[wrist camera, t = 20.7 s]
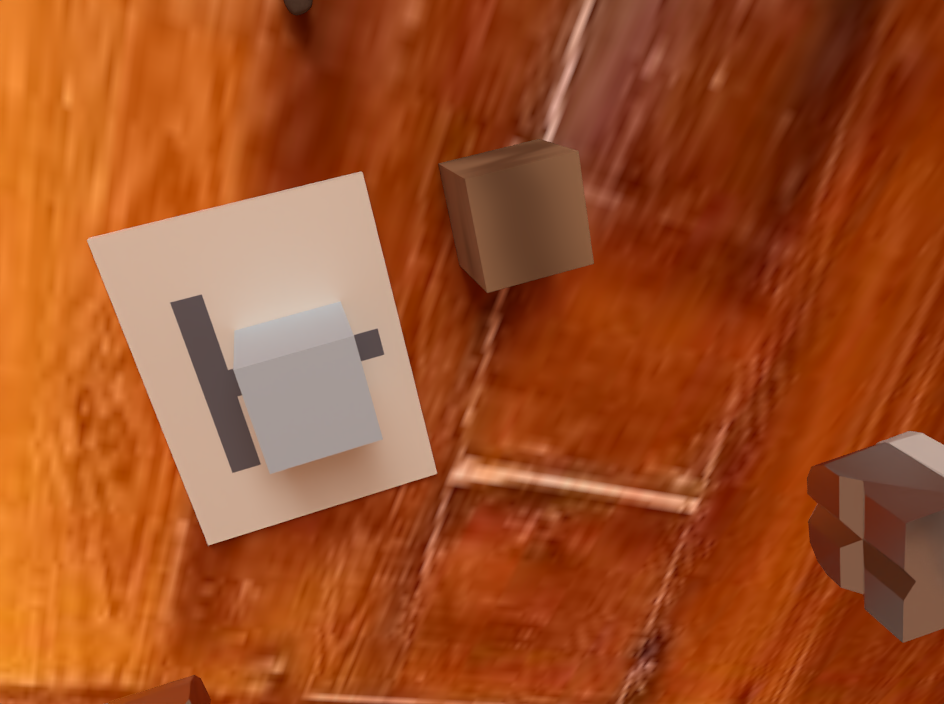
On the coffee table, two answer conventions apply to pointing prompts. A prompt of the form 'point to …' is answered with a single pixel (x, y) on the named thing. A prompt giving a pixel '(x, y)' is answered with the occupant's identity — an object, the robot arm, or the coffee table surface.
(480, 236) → the walnut block
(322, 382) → the grey cube
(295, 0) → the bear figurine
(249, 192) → the coffee table surface
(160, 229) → the letter card
